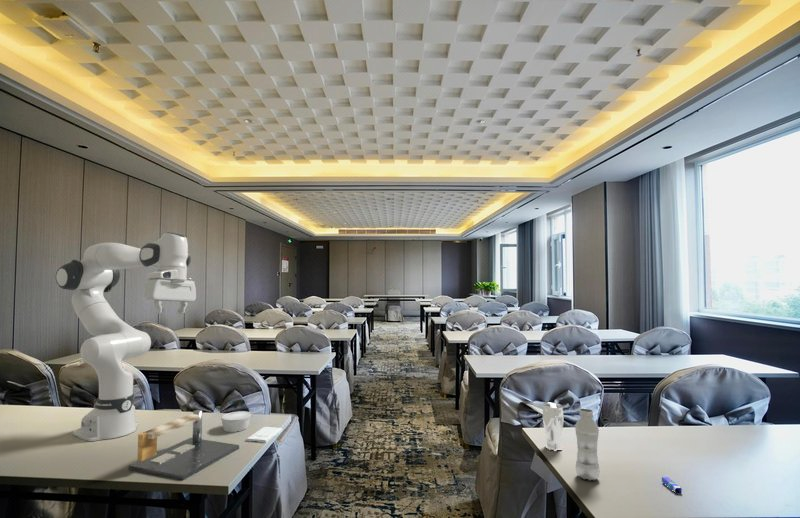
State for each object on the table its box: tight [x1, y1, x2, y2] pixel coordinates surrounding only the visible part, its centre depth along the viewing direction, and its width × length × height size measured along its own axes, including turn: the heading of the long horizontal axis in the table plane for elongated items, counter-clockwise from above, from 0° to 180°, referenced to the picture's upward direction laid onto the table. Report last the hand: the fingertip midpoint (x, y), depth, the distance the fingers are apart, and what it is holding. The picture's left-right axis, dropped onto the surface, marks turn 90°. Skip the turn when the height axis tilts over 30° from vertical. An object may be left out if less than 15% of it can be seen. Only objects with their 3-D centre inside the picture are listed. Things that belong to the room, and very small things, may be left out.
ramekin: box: [221, 410, 252, 433], centre depth 163 cm, size 11×11×5 cm
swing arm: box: [136, 413, 200, 462], centre depth 134 cm, size 20×4×8 cm, turn 162°
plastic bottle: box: [574, 408, 601, 481], centre depth 121 cm, size 6×7×20 cm
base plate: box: [128, 409, 240, 481], centre depth 135 cm, size 22×24×12 cm
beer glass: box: [542, 402, 564, 451], centre depth 143 cm, size 7×7×15 cm
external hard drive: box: [245, 426, 283, 444], centre depth 155 cm, size 2×8×12 cm
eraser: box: [661, 476, 683, 494], centre depth 115 cm, size 2×6×2 cm, turn 177°
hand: (170, 313), depth 146 cm, fingers open, 8 cm apart
